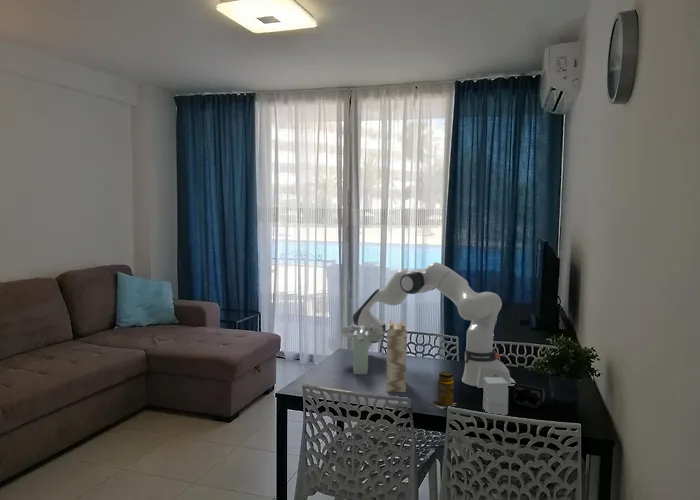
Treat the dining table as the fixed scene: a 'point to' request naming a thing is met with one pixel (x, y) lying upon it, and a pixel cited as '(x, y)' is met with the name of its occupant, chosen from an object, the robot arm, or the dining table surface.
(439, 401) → the condiment
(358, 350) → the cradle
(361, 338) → the axle
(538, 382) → the dining table surface
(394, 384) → the block
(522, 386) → the end cap
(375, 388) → the dining table surface
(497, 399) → the supplement box
